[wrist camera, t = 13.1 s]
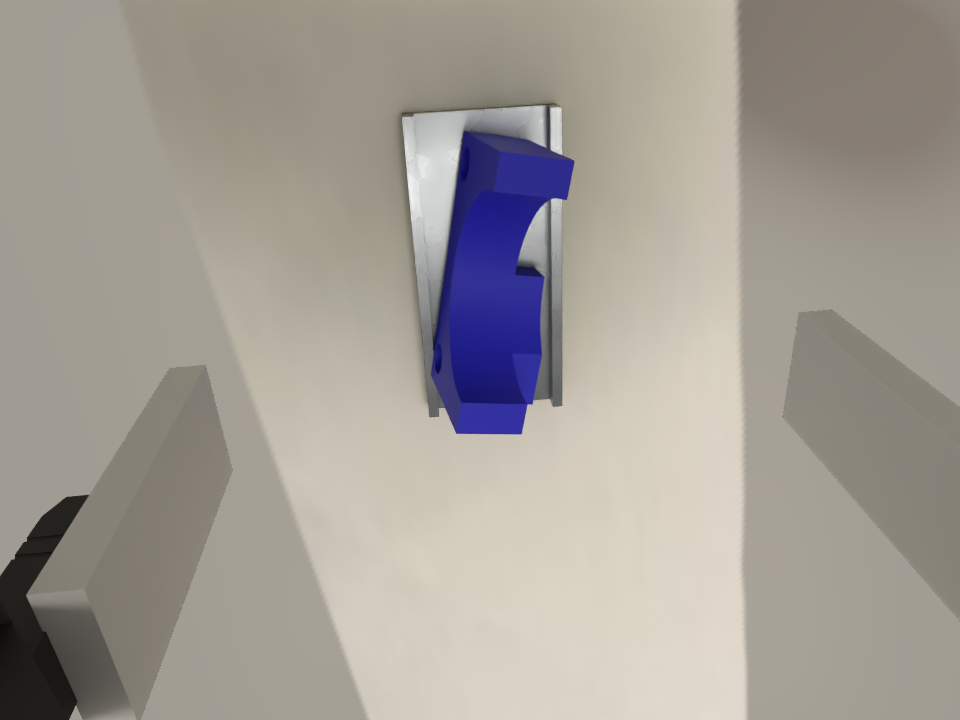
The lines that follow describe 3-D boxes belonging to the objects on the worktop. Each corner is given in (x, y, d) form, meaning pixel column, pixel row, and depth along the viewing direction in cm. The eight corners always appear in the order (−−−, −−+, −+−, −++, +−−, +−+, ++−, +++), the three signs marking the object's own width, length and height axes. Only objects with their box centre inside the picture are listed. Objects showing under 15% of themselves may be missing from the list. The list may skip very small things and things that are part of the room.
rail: (402, 113, 33) (401, 117, 32) (555, 103, 33) (561, 107, 32) (428, 404, 40) (429, 417, 38) (557, 393, 40) (562, 405, 39)
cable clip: (514, 378, 38) (552, 434, 33) (431, 375, 37) (456, 433, 32) (558, 143, 34) (609, 165, 29) (464, 131, 33) (500, 151, 27)
